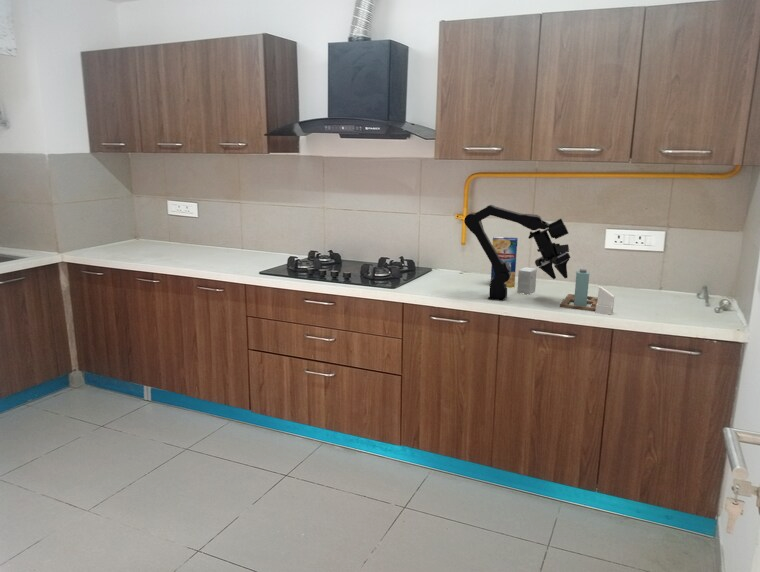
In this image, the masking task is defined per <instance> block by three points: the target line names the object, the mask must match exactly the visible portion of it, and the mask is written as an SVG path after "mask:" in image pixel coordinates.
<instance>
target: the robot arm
mask: <svg viewBox="0 0 760 572" xmlns="http://www.w3.org/2000/svg"><path fill="white" fill-rule="evenodd" d="M491 216H492V217H496V218H500V219H503V220H507V221H509V222H514V223H517V224H520V225H521V226H522V227H525V228H527V229H529V231H530V230H531V231H530V232H529V236H528V239H529V240H530V239H534V241H535V243H536V245H537V253H540V254H541V256H540V257H539V258H536V259H535V261H534V264H535V266H536V267H538V268H539V269H540V270H542V271H543V272H544V273H545V274H547V275H548V276H549V277H550V278H552V279H553V280H555V279H557V278H556V274H555V270H554V268H555V269H556V270H557V271H558V273H559V274H560V275H561V276H562V278H564V279H568V271H567V270H568V269H567V267H568V266H567V264H568V262H569V261H570V259H571V256H570V254H569V252H570V248H569V247H570V246H569V244H567V243H566V244H560V243H556V242H553V241H552V240H551V239H555V240H557V239H560V238H561V237H564V236H567V235H569V231H568V228H567V226H566V224H565V223H564V221H563V219H562V218H559V219H557V220H556V221H553V222H550V223H548V222H547V221H545V220H543V219H542V217H541V216H540V215H538V214H533V213H532V214H531V213H521V212H516V211H514V210H513V211H512V210H509V209H505V208H502V207H498V206H495V205H494V204H489V205H487V206H486V207H484V208H482V209H481V210H479V211H477V212H470V213H468V214H467V215H466V216H465V217H464V224H465V226H466V227H467V229H468V230H469V231H470V232H471V233H472V234H473V235H474V236H475V238H476V239H477V241H478V243H479V244H480V247H481V248H482V249H483V251H484V253H485V255H486V257H487V258H488V259H489V260H488V261H489V262H490V263H491V267H492V266H493V270H494V274H495V276H493V277H492V279H491V278H490V282H489V283H490V284H489V293H488V294H489V296H488V297H487V299H488V300H494V301H502V302H503V301H504V300H506V299H507V298H508V287H506V284H504V283H505V282H507V281H508V280H509V278H510V276H511V271H510V270H511V268H510V267H509V265H508V263H507V261H505V262H503V261H502V260H501V259H500V258H499V256H498V254H497V252H496V251H495V249H494V247H493V243H492V242H491V240H490V238H489V237H488V235H487V234H486V231H485V229H484V225H483V222H482V221H483V220H484V219H486V218H488V217H491ZM553 266H554V267H553ZM505 298H506V299H505Z"/></svg>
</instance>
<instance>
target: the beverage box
mask: <svg viewBox="0 0 760 572" xmlns="http://www.w3.org/2000/svg"><path fill="white" fill-rule="evenodd" d="M518 239H519V238H518V237H509V236H508V237H507V236H506V237H505V236H504V237H503V236H500V237H499V236H493V238H492V245H493V247H494V249H495V251H496V252H497V254H498V256H499V258H500V259H501V260H502V261H503V262H505V261H507V263H508V265H509V267H510V268H511V270H510V271H511V276H510V278H509V280H508V281H507V282H505V283H504V284H506V288H512V287H514V288H515V283H516V271H517V270H516V268H517V266H516V265H517V251H518V250H517V249H518ZM490 270H491V272H490V273H491V274H490V280H491V279H492V277H493V276H495V274H494V270H493V266H492V265H491V269H490Z"/></svg>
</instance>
